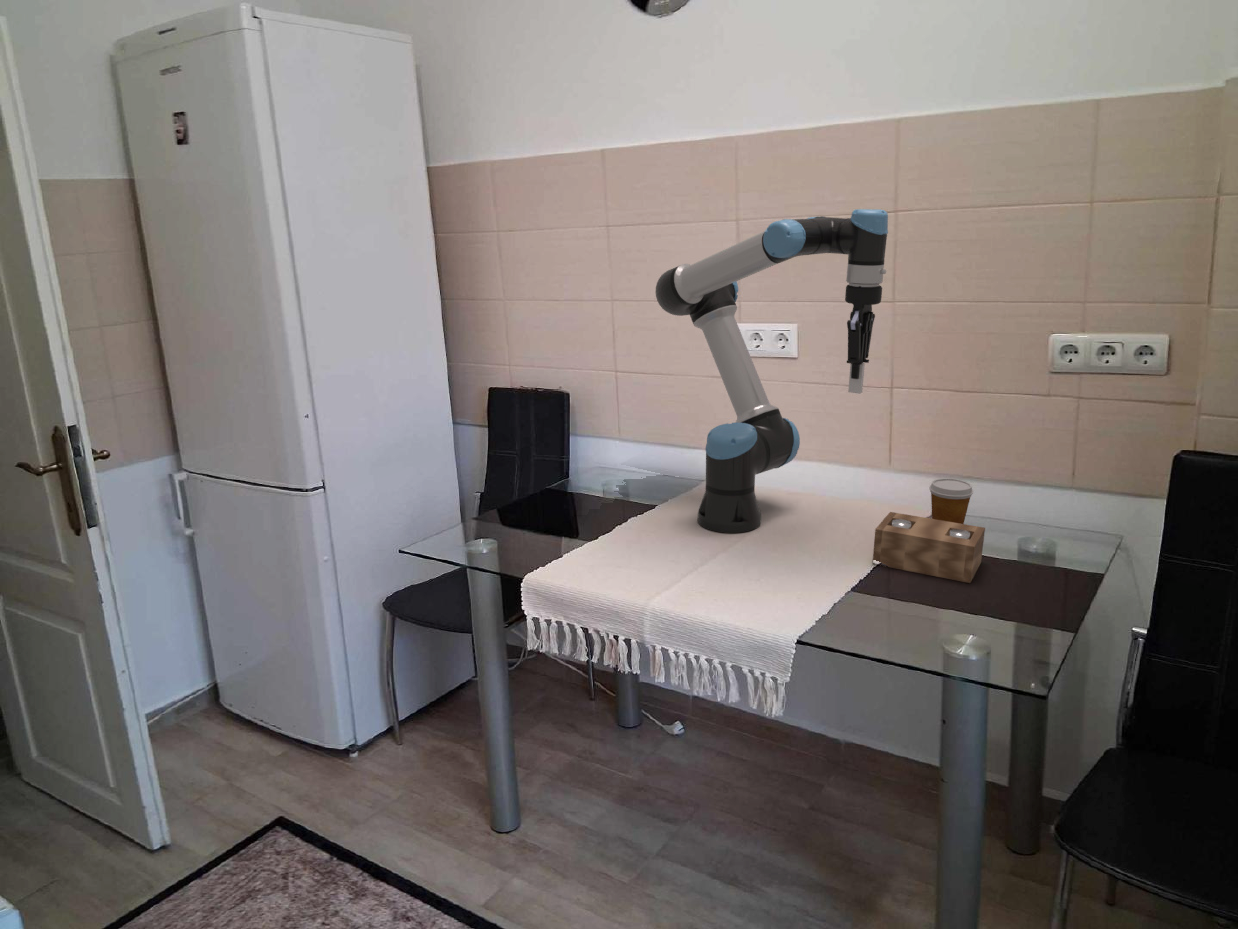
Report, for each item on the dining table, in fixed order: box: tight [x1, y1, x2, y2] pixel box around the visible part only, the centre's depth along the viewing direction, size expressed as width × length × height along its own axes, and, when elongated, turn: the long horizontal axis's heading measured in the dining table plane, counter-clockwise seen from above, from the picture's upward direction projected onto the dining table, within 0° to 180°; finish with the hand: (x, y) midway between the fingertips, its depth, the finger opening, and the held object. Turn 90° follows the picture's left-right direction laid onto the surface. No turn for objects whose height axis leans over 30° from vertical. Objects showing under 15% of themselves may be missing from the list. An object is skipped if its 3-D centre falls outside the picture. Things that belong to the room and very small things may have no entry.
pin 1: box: [892, 519, 911, 529], centre depth 197 cm, size 4×4×7 cm
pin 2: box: [949, 529, 970, 539], centre depth 191 cm, size 4×4×7 cm
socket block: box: [872, 511, 986, 584], centre depth 194 cm, size 20×12×8 cm, turn 59°
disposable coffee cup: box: [928, 477, 974, 524], centre depth 210 cm, size 10×10×12 cm
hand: (855, 392), depth 201 cm, fingers closed
